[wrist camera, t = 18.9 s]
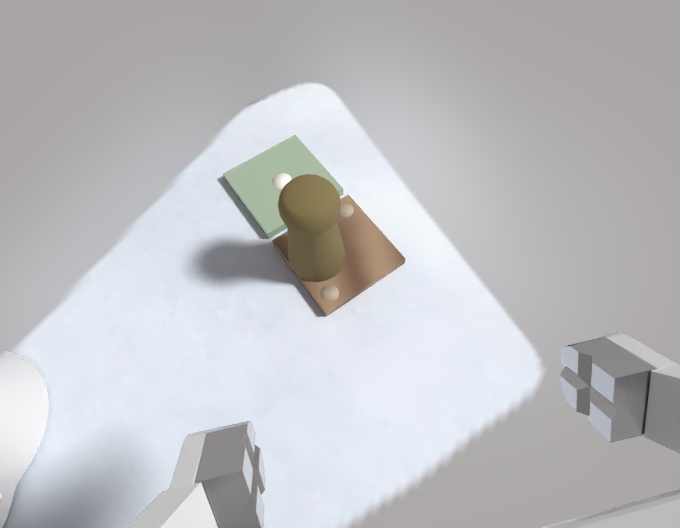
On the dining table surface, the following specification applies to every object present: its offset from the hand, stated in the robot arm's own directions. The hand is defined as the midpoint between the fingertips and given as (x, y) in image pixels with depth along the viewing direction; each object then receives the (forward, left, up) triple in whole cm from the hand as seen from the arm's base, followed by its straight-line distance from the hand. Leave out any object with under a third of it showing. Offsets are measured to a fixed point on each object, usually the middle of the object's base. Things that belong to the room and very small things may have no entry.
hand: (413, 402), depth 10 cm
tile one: (+9, +27, -27) cm, 40 cm away
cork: (+7, +17, -27) cm, 32 cm away
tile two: (+9, +16, -27) cm, 33 cm away
